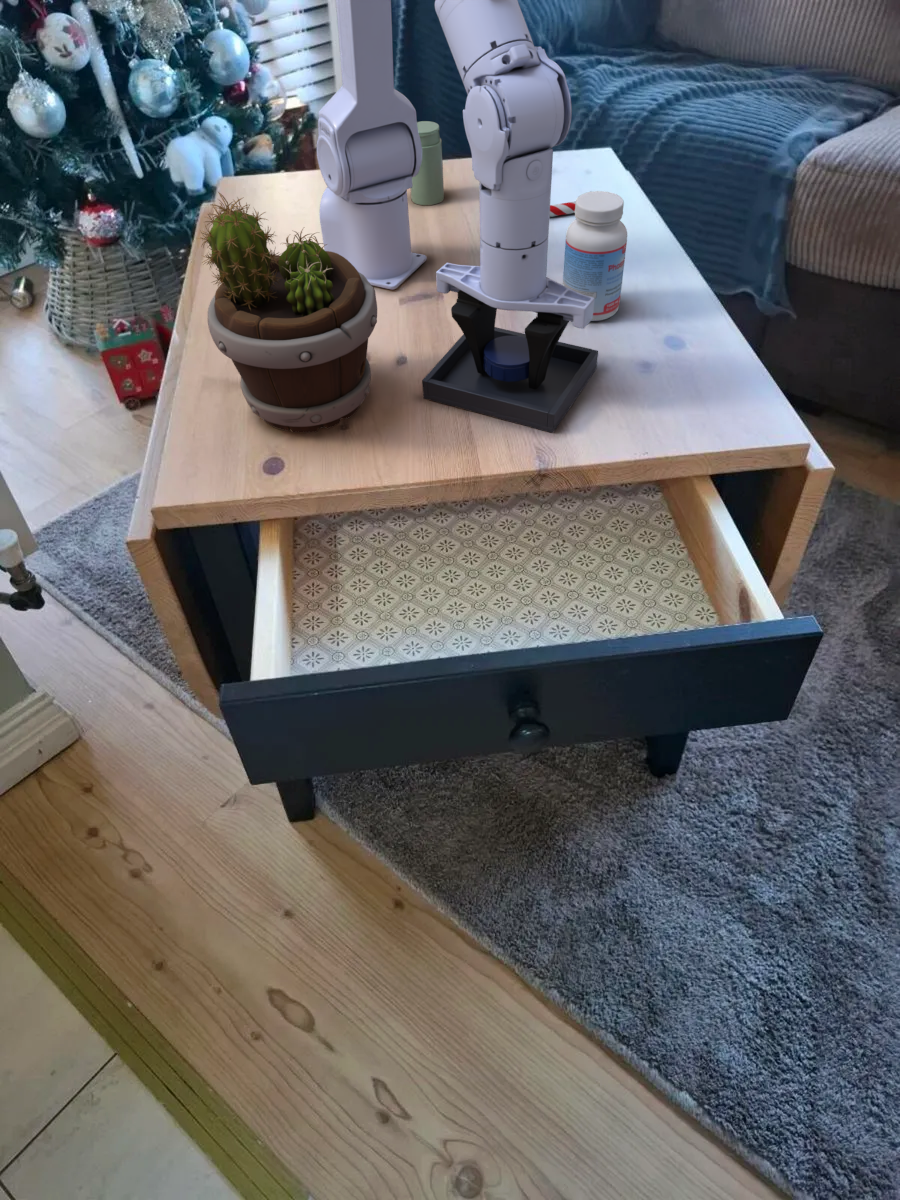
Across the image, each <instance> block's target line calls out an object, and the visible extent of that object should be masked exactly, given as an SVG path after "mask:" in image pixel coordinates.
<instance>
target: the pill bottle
mask: <svg viewBox="0 0 900 1200" xmlns="http://www.w3.org/2000/svg"><path fill="white" fill-rule="evenodd" d="M575 201H576V205H575V213H574V217H575V219H574V220H573V221H572V222H570V224H569V225H568V227H567V229H566V231H565V232H566V233H565V241H564V242H565V243H564V256H563V268H562V269H563V271H562V283H561V285H563V286H565V287H567V288H569V289H571V290H573V291H576V292H578V293H580V294H583V295H586V296H589V297H593V298H595V299H594V309H593V318H592V320H591V321H590V322H598V321H605V320H607V319H610V318H612V317H613V316H614V315H615V314H616V313H617V312H618V310H619V308H620V303H621V297H622V296H621V294H622V286H623V278H624V270H625V263H626V262H625V261H626V253H627V243H628V229H627V227H626V225H625V224H624V223H623V221H621V220H622V218H623V215H624V204H625V202H624V199H623V197H622V196H620V195H619V194H617V193H615V192H610V191H605V190H604V191H602V190H594V191H588V192H584V193H582V194H580V195H578V196H577V198H576V199H575Z"/></svg>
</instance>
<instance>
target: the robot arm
mask: <svg viewBox="0 0 900 1200" xmlns="http://www.w3.org/2000/svg"><path fill="white" fill-rule="evenodd" d="M335 5H336V18H337V31H338V43H339V55H340V67H341V68H340V70H341V81H342V85H340V87H339V89H338V90H337V91H336V92H335V93H334V94H333V95H332V96H331V98H330V99H329V100H327V102H325V104H324V105H323V106H322V107H321V109H320V110H319V111H318V113H317V115H318V121H317V125H318V127H317V128H318V133H317V134H318V135H317V140H316V156H317V157H316V158H317V163H318V167H319V171H320V174H321V177H322V179H323V181H324V183H325V185H326V188H325V189H324V191H323V193H322V196H321V198H320V202H319V203H320V204H319V223H320V224H319V225H320V230H321V237H322V243H323V244H322V245H323V246H324V245H325V246H324V247H323V249H324V250H325V251H330V252H334V253H337V254H339V255H341V256H343V257H344V258H345V259H347V260H348V261H349V262H350V263H351V264H352V265H353V266H354V267H355V268H356V270H357V271H358V272H359V273H361V274H363V275H364V276H365V278H366V279H367V280H368V282H369V283H370V284H371V286H373V287H379V288H383V289H388V290H395V289H397V288H398V287H400V286H401V284H403V283H404V282H405V281H406V280H407V279H408V278H409V277H411V276H412V274H413V273H414V272H415V271H417V269H419V268H420V267H421V266H422V265H423V264H424V263H425V262H426V261H427V260H428V259H427V255H426V254H421V253H417V252H412V240H411V229H410V227H411V226H410V213H409V202H408V201H409V200H408V190H410V188H412V187H413V185H412V178H413V177H415V176H416V175H417V174H418V172H419V169H420V166H421V163H422V145H421V140H420V136H419V133H418V127H417V122H418V120H417V119H418V118H417V111H416V108H415V106H414V105H413V104H412V102H411V101H410V99H409V98H408V97H406V95H404V94H403V93H402V92H400V91H398V90H397V89H396V88H395V79H394V53H393V51H394V50H393V23H392V0H335ZM434 10H435V13H436V15H437V18H438V21H439V24H440V26H441V29H442V32H443V34H444V37H445V40H446V42H447V45H448V47H449V50H450V53H451V55H452V57H453V60H454V62H455V65H456V68H457V71H458V73H459V76H460V78H461V81H462V84H463V86H464V89H465V92H466V95H467V96H466V99H465V107H464V109H463V110H462V118H463V127H464V131H465V135H466V139H467V141H468V144H469V148H470V153H471V170H472V171H473V177H474V179H475V180H476V181H478V182H479V187H478V189H479V192H478V193H479V194H478V195H479V265H466V264H456V263H451V262H446V263H445V264H443V265H442V266H441V267H440V268H439V269H437V270H436V271H435V279H436V283H435V284H436V292H437V293H441V294H445V295H447V294H448V293H450V292H453V293H457V299H456V302H455V303H454V304H453V305H452V306H451V309H450V311H451V312H450V313H451V318H452V319H453V320H454V321H455V323H456V324H457V326H458V327H459V328H460V330H461V332H462V333H463V334H464V335H465V337H466V339H467V342H468V344H469V347H470V349H471V352H472V355H473V358H474V361H475V365H476V368H477V372H478V373H480V374H484V373H485V370H484V348H485V346H486V344H487V343H488V342H490V341H491V340H493V339H494V330H495V327H496V317H497V312H498V310H503V311H513V312H514V311H515V312H530V313H531V312H533V313H536V317H534V318H533V319H532V320H531V321H530V323H529V324H528V325H526V327H525V328H524V334H525V335H526V339H527V343H528V349H529V377H528V382H529V388H532V389H537V388H538V387H539V386H540V385H541V383H542V382H543V381H544V380H545V376H546V372H547V368H548V365H549V362H550V359H551V356H552V354H553V351H554V349H555V347H556V345H557V343H558V342H560V338H561V337H562V335H563V333H564V332H565V329H566V328H567V326H568V325H569V323H570V322H572V326H573V328H574V327H575V328H578V329H582V330H583V329H585V328H586V326H588V325H589V324H590V323H591V322H592V321H591V320H592V318H593V309H594V299H595V298H593V297H589V296H586V295H583V294H580V293H578V292H576V291H573V290H571V289H569V288H567V287H565V286H563V285H562V283H559V282H558V281H556V280H553V279H551V278H549V277H548V276H547V273H548V255H549V253H548V251H549V235H550V218H551V217H550V205H551V199H552V198H551V197H552V182H553V181H552V179H553V177H552V176H553V158H554V149H553V147H557V146H560V145H561V144H562V143H563V142H564V141H565V139H566V138H567V136H568V135H569V132H570V128H571V125H572V124H571V122H572V112H573V111H572V98H571V94H570V88H569V85H568V82H567V77H566V75H565V73H564V71H563V69H562V68H561V67H560V65H559V64H558V63H556V61H554V60H553V59H550V58H549V56H548V55H547V52H546V50H545V48H542V46H535V44H534V42H533V39H532V36H531V33H530V31H529V28H528V26H527V23H526V20H525V17H524V15H523V12H522V9H521V6H520V3H519V0H434ZM326 244H327V245H326Z"/></svg>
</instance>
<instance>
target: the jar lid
mask: <svg viewBox="0 0 900 1200" xmlns="http://www.w3.org/2000/svg"><path fill="white" fill-rule="evenodd" d="M484 370H485V372H486V373H487V374H488V375H489V376H490V377H492V378H494V379H497V380H500V381H506V382H515V381H521V380H525V379H527V378H528V377H529V349H528V343H527V339H526V338H525V337H520V336H502V337H498V338H495V339H493V340H491V341H490V342H488V343H487V344H486V346H485V348H484Z"/></svg>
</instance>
